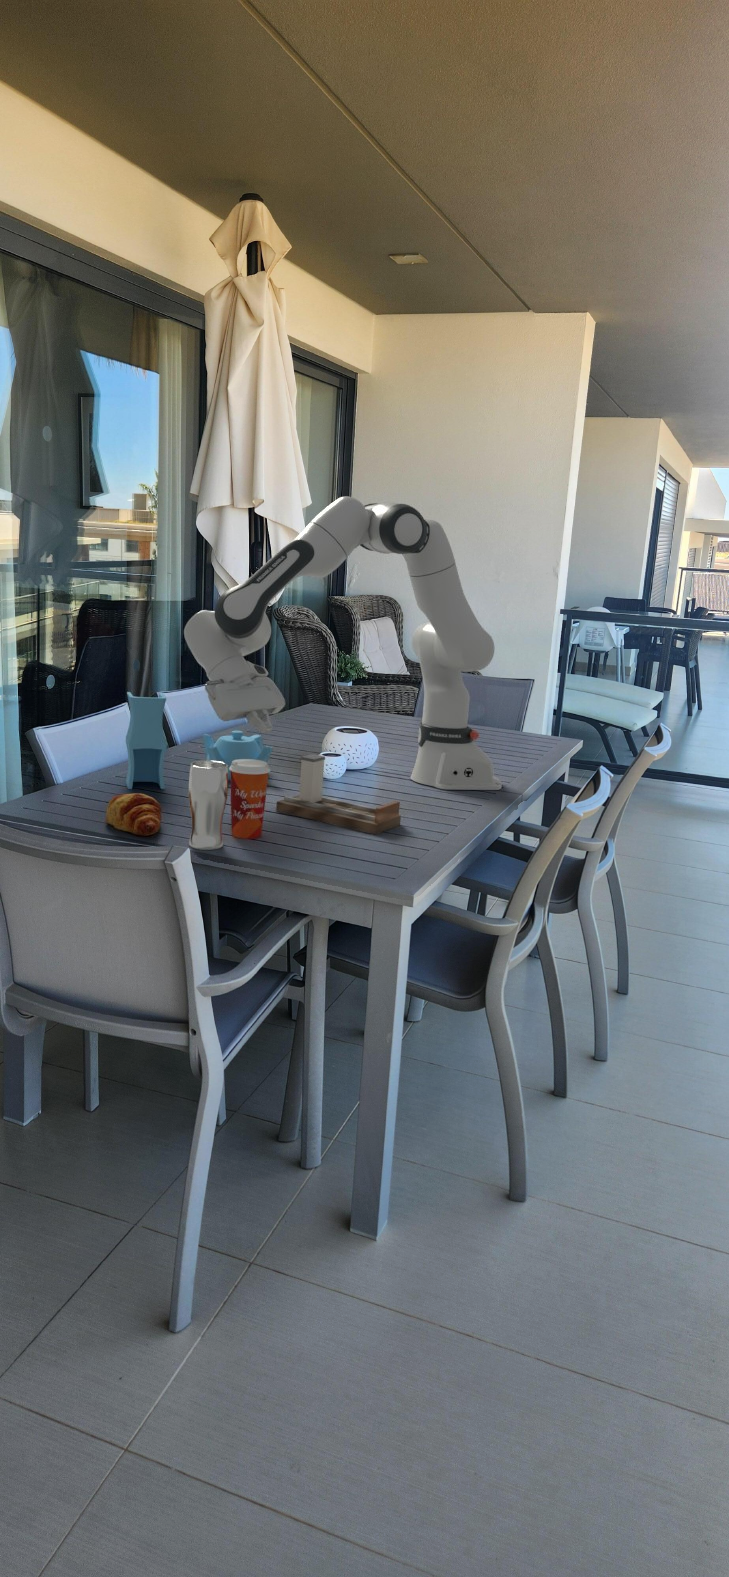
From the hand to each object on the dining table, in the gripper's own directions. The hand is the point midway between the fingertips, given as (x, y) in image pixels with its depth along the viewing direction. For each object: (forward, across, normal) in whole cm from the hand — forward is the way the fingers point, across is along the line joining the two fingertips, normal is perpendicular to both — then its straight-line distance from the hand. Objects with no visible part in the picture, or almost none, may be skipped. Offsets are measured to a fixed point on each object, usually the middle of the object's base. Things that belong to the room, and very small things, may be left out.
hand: (267, 730), depth 211 cm
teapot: (-2, +14, +24) cm, 28 cm away
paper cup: (+21, -23, +1) cm, 31 cm away
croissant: (+7, -33, +15) cm, 37 cm away
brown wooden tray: (+24, 0, -3) cm, 24 cm away
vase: (-8, -8, +30) cm, 32 cm away
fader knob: (+18, 0, +1) cm, 18 cm away
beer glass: (+20, -34, +2) cm, 39 cm away
